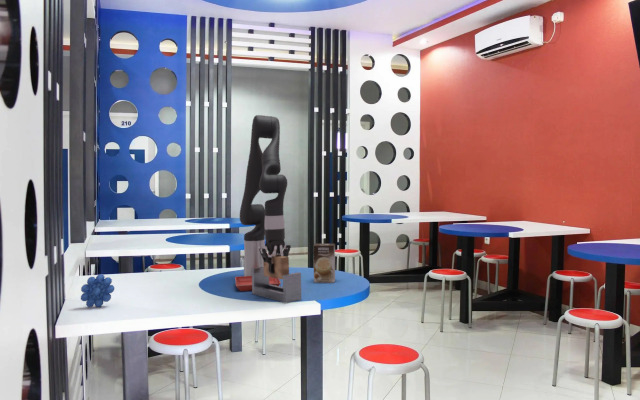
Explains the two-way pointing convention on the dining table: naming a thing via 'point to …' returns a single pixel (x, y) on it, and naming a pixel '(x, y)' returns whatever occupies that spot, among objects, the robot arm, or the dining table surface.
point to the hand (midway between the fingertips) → (276, 272)
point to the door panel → (278, 267)
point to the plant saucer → (246, 282)
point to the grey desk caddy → (282, 294)
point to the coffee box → (324, 263)
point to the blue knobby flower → (97, 290)
